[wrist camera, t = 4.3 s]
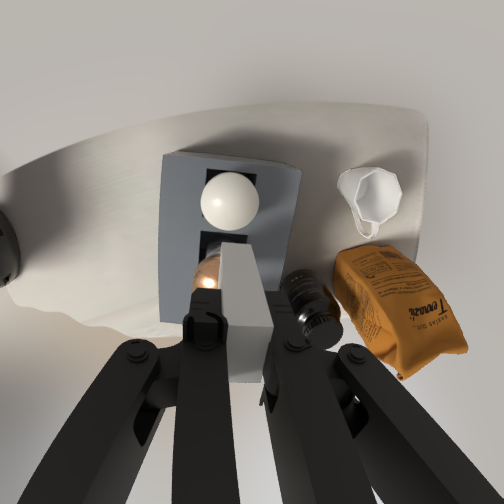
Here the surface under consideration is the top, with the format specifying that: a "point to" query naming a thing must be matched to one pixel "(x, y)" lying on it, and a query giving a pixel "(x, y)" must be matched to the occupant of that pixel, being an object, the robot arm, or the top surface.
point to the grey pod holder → (201, 231)
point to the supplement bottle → (314, 308)
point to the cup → (370, 196)
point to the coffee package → (396, 308)
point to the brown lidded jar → (210, 264)
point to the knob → (229, 201)
